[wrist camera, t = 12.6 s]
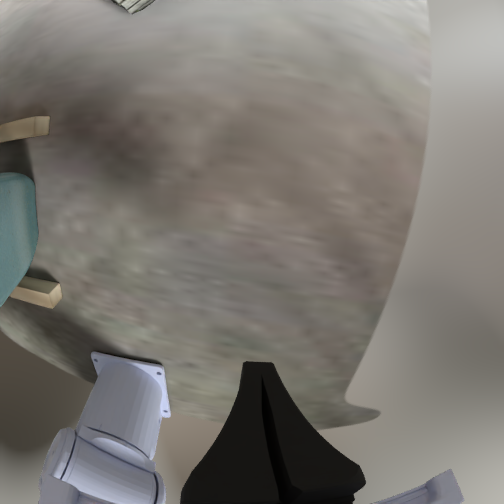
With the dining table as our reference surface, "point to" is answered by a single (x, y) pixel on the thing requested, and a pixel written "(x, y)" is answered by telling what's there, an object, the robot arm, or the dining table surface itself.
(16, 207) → the flower pot
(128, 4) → the mat
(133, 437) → the robot arm
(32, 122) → the cream wooden frame
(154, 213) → the dining table surface
